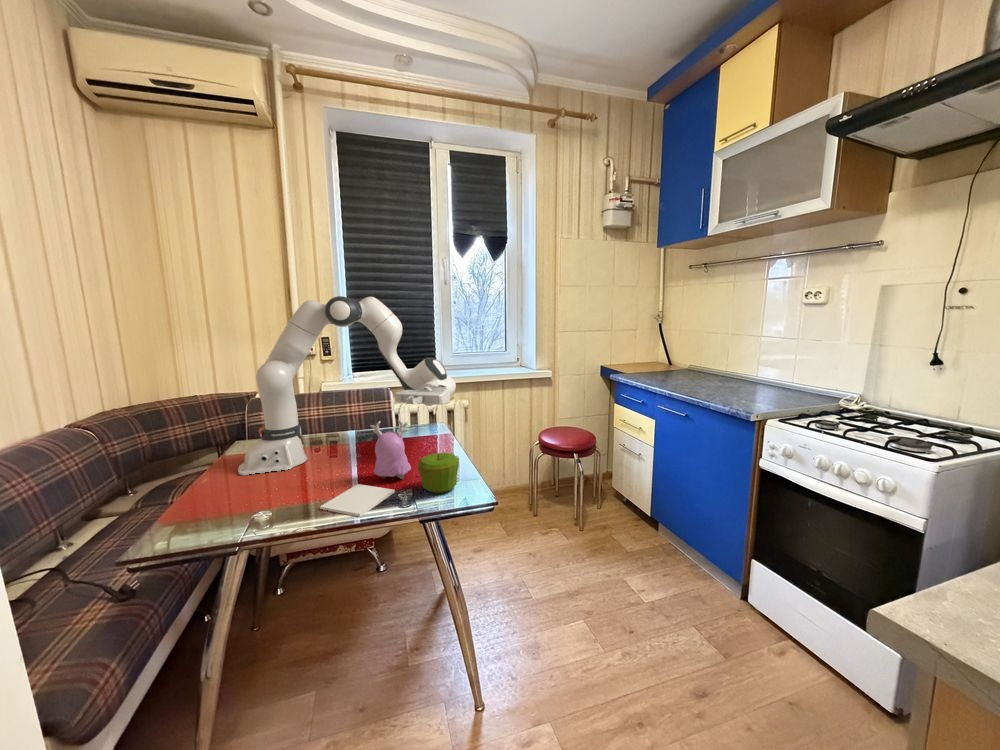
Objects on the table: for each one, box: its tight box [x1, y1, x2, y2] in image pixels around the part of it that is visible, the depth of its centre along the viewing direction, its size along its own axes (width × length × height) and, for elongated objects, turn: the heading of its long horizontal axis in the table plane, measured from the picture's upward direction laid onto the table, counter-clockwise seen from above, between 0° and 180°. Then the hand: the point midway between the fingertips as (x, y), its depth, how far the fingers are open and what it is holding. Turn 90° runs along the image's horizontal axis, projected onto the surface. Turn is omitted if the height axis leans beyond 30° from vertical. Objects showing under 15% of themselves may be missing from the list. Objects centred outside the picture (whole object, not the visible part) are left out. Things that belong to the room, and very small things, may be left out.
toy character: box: [370, 419, 412, 480], centre depth 137 cm, size 12×10×20 cm
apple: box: [417, 452, 460, 494], centre depth 128 cm, size 12×12×11 cm
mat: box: [319, 483, 396, 517], centre depth 122 cm, size 16×14×1 cm
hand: (409, 401), depth 146 cm, fingers closed
